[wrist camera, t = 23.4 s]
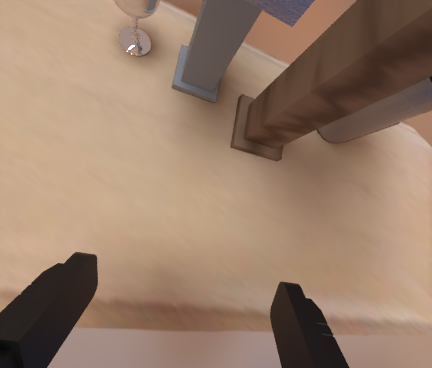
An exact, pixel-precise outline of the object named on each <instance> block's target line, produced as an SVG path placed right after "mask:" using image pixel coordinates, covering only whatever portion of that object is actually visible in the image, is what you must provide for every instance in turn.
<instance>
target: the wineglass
mask: <svg viewBox="0 0 432 368" xmlns="http://www.w3.org/2000/svg"><path fill="white" fill-rule="evenodd" d="M113 1H114V2H115V4H116V5H117V6H118V8H119V9H121V10H122V11H123V12H124V13H125V14H127V15H129V16H131V17H132V20H133V24H134V27H128V28H125V29H123V30H122V31H121V33H120V35H119V41H120V44H121V46H122V47H123V49H124V50H125V51H127V52H128V53H130V54H132V55H135V56H143V55H145V54H147V53H148V52H149V51H150V49H151V40H150V38H149V36H148V35H147V34H146V33H145V32H144V31H142V30H141V29H138V28H137V24H138V20H139V19H143V18H147V17H150V16H151V15H153V14H154V13H155V11H156V10H157V8H158V6H159V4H160V0H113Z"/></svg>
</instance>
